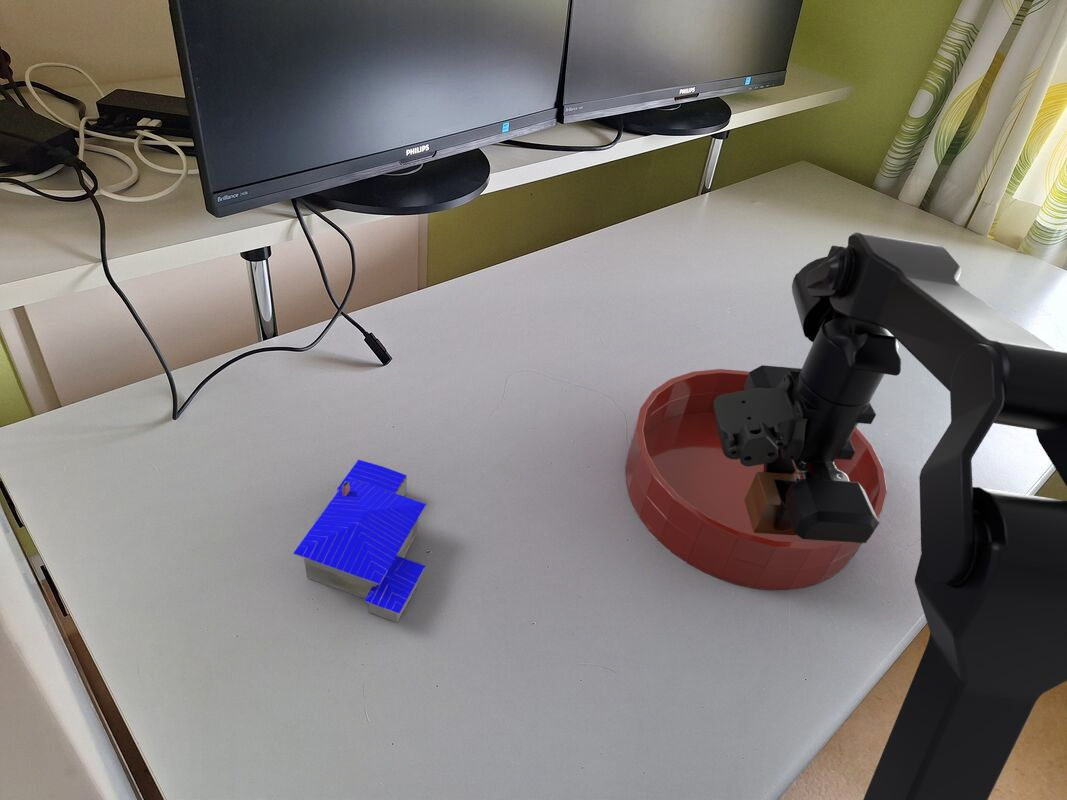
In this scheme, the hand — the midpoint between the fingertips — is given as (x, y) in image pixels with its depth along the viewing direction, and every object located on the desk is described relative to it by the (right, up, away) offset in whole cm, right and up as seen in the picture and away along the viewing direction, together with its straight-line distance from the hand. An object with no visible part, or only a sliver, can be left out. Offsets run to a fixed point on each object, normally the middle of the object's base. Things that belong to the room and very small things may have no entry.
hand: (773, 510), depth 71 cm
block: (0, -1, +1) cm, 1 cm away
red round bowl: (0, 0, +11) cm, 11 cm away
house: (-38, -4, 0) cm, 38 cm away
